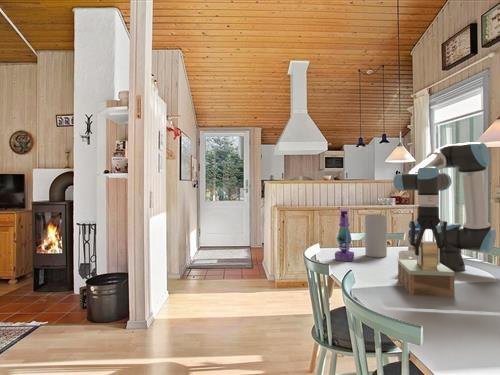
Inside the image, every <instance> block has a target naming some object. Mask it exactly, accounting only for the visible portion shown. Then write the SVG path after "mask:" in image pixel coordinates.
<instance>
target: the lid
mask: <svg viewBox="0 0 500 375" xmlns="http://www.w3.org/2000/svg"><path fill="white" fill-rule="evenodd" d="M419 247H420V246H419ZM398 263H399V264H400V265H401V266H402V267H403V268H404V269H405V270H406V271H407V272H408V273H409V274H411V275H443V276H454V277H455V271H452V270H451V269H449V268H447V267H446V266H444V265H443V264H441V263H440V265H437V271H434V270H422V269H421V268H420V264H418V256H417V260H399V259H397V264H398Z"/></svg>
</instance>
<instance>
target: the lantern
mask: <svg viewBox="0 0 500 375" xmlns="http://www.w3.org/2000/svg"><path fill="white" fill-rule="evenodd" d="M339 212H340V217H339V224H338V225H339V228H338V233H337V238H336V241H337V243H338V245H339V250H337V251H335V253H334V259H335V260H336V261H339V262H352V261H354V259H355V252H354V251H351V249H350V244H351V243H352V236H351V231H350V230H351V229H350V228H349V227H350V223H349V217H348V212H349V209H347V208H346V209H345V208H343V209H340V210H339Z"/></svg>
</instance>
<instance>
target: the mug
mask: <svg viewBox="0 0 500 375" xmlns="http://www.w3.org/2000/svg"><path fill="white" fill-rule="evenodd" d="M398 260H417V256H416V255H415V251H408V250H399V251H398Z"/></svg>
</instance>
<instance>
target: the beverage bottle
mask: <svg viewBox="0 0 500 375" xmlns="http://www.w3.org/2000/svg"><path fill="white" fill-rule="evenodd" d="M415 227H416V229H415V242H416V239H417V236H418V233H419V229H420V225H419V224H418V223H417V225H416V226H415ZM408 228H409V230H408V232H407V235H408V236H407V241H408V242H407V244H408V245H407V246H408V247H407V251H415V247H414V246H412V245H410V233H411V225H410V222H409V223H408ZM421 241H423V237H422V240H421Z"/></svg>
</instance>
